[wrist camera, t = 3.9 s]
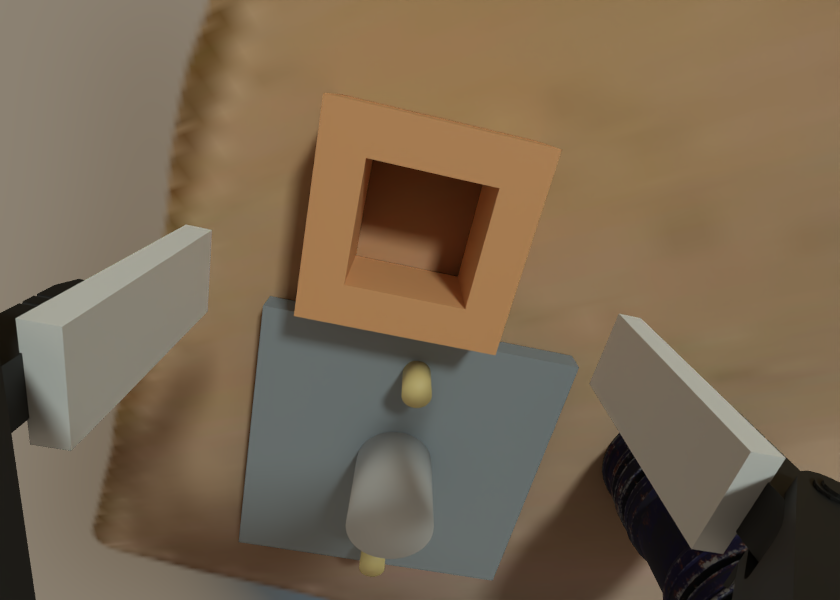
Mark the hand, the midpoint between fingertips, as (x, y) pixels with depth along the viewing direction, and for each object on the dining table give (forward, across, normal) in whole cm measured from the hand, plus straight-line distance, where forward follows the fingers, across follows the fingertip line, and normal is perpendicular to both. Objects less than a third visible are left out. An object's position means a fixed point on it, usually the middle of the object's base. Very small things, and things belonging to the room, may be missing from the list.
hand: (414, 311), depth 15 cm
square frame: (+14, 0, 0) cm, 14 cm away
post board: (+14, +2, -17) cm, 22 cm away
